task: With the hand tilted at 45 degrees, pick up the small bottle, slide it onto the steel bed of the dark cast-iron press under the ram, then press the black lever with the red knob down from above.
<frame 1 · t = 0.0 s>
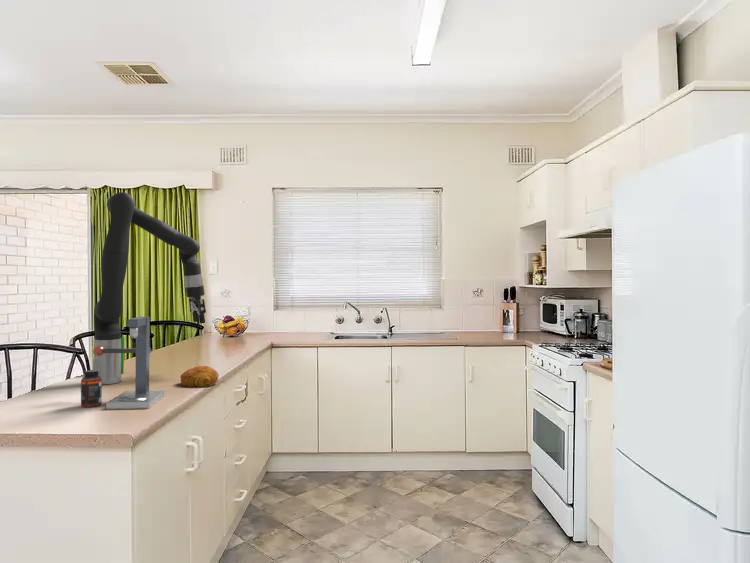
hand: (199, 322, 234), 22 cm above the countertop, fingers open, 8 cm apart
lever: (122, 350, 188), point 16 cm above the countertop, hinge at 0.0°
croissant: (199, 384, 212), on the countertop
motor: (112, 373, 234), on the countertop
supplement bottle: (91, 406, 174), on the countertop
press: (133, 404, 176), on the countertop
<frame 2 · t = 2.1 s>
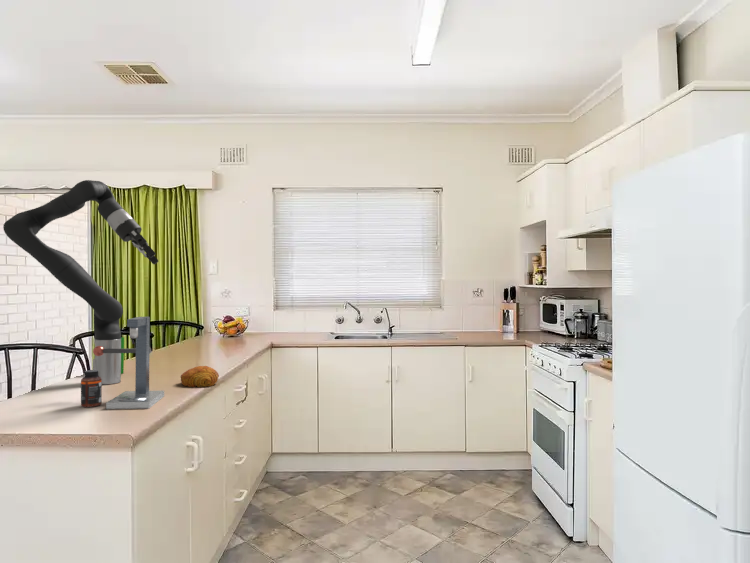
hand: (154, 259, 188), 48 cm above the countertop, fingers open, 8 cm apart
nothing on the countertop moved.
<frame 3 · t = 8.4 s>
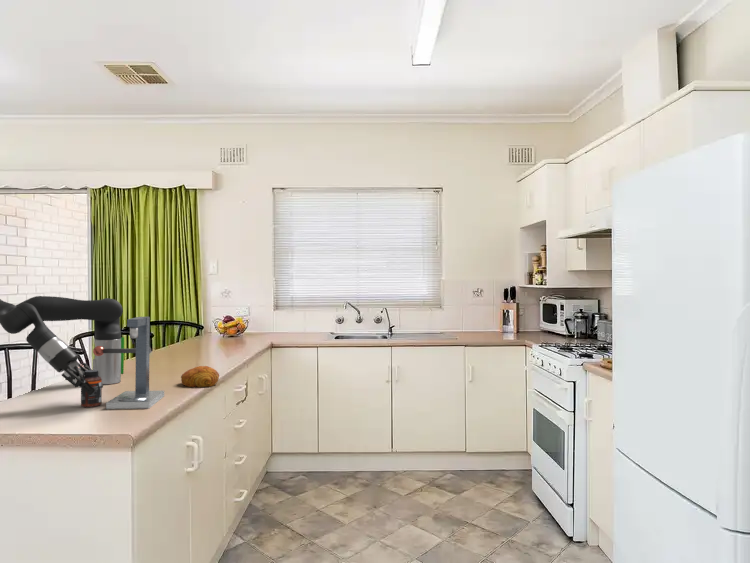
hand: (96, 390, 174), 5 cm above the countertop, fingers closed on supplement bottle, 6 cm apart
supplement bottle: (91, 406, 174), on the countertop, touching gripper
everything else where it was.
when the fingers open (8 cm above the countertop, at t = 13.9 s): supplement bottle drops 1 cm, resting on press.
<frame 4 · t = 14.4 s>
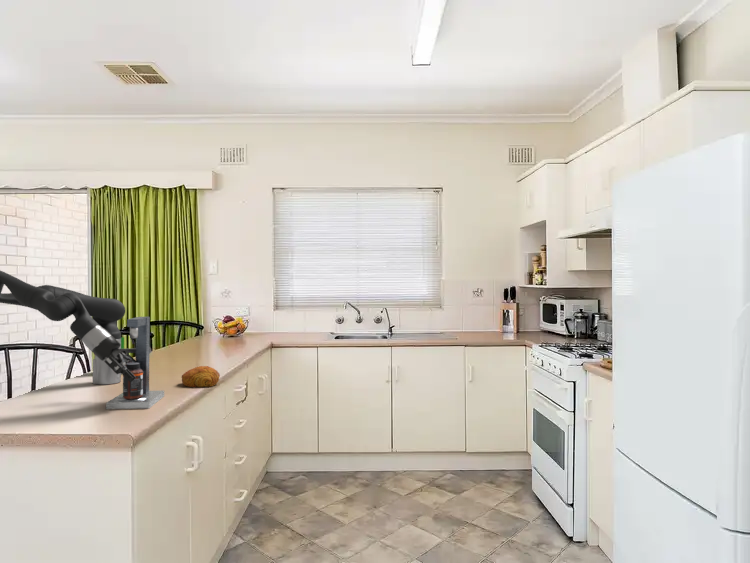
hand: (137, 377, 176), 9 cm above the countertop, fingers open, 8 cm apart
supplement bottle: (132, 398, 176), point 2 cm above the countertop, touching press
everything else where it was.
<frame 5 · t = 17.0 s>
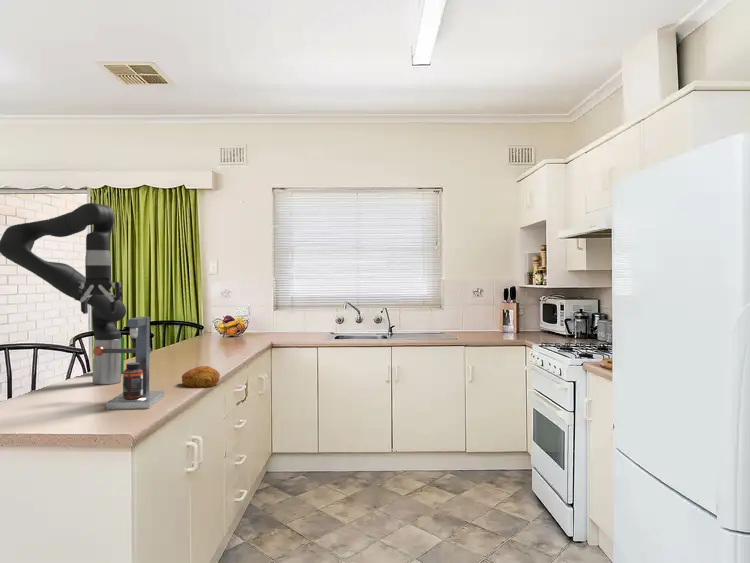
hand: (98, 313, 178), 30 cm above the countertop, fingers open, 8 cm apart
nothing on the countertop moved.
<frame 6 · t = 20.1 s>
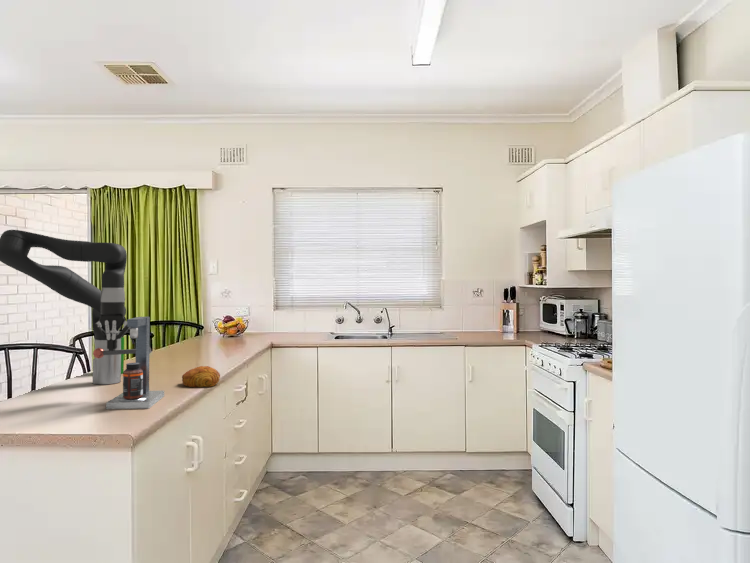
hand: (112, 350, 187), 16 cm above the countertop, fingers closed
lever: (122, 351, 188), point 16 cm above the countertop, hinge at 2.9°, touching gripper
everything else where it was.
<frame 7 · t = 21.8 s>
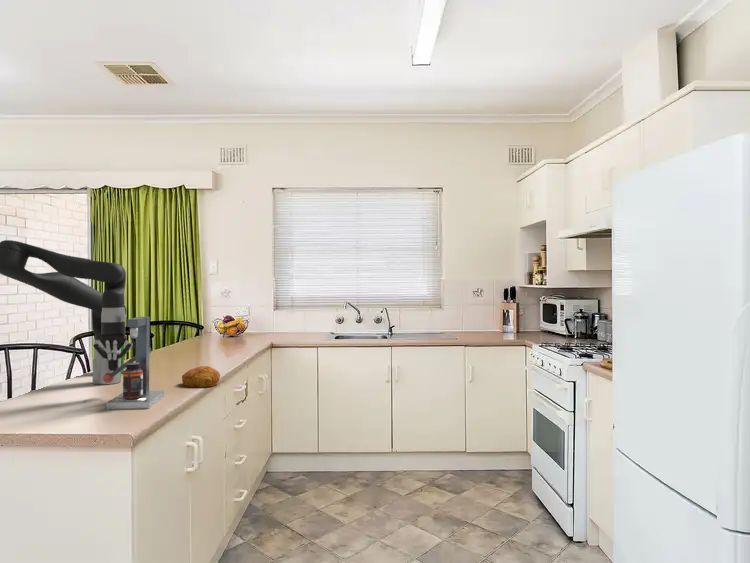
hand: (113, 370, 187), 9 cm above the countertop, fingers closed
lever: (126, 364, 188), point 11 cm above the countertop, hinge at 37.2°, touching gripper
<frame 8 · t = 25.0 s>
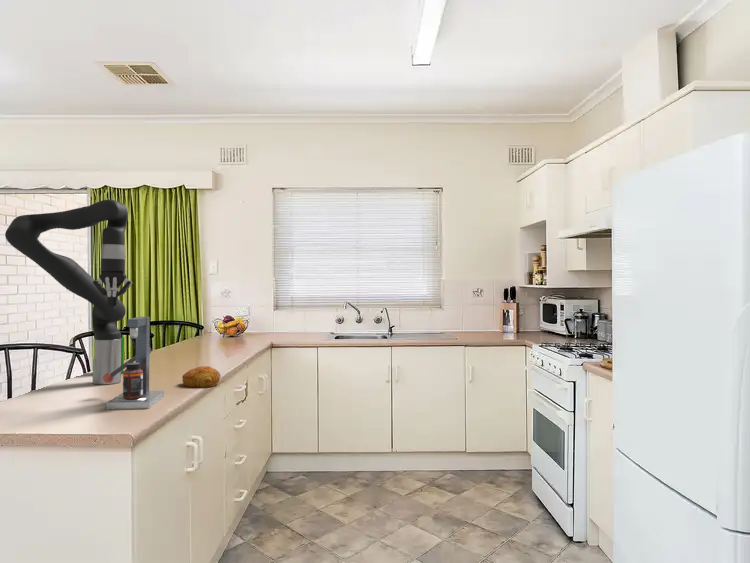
hand: (112, 307, 187), 31 cm above the countertop, fingers closed
lever: (126, 364, 188), point 11 cm above the countertop, hinge at 37.2°
at the end: supplement bottle 0.3 cm from the press (horizontally); supplement bottle tilted 0°; lever at +37° (first picture: +0°) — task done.
